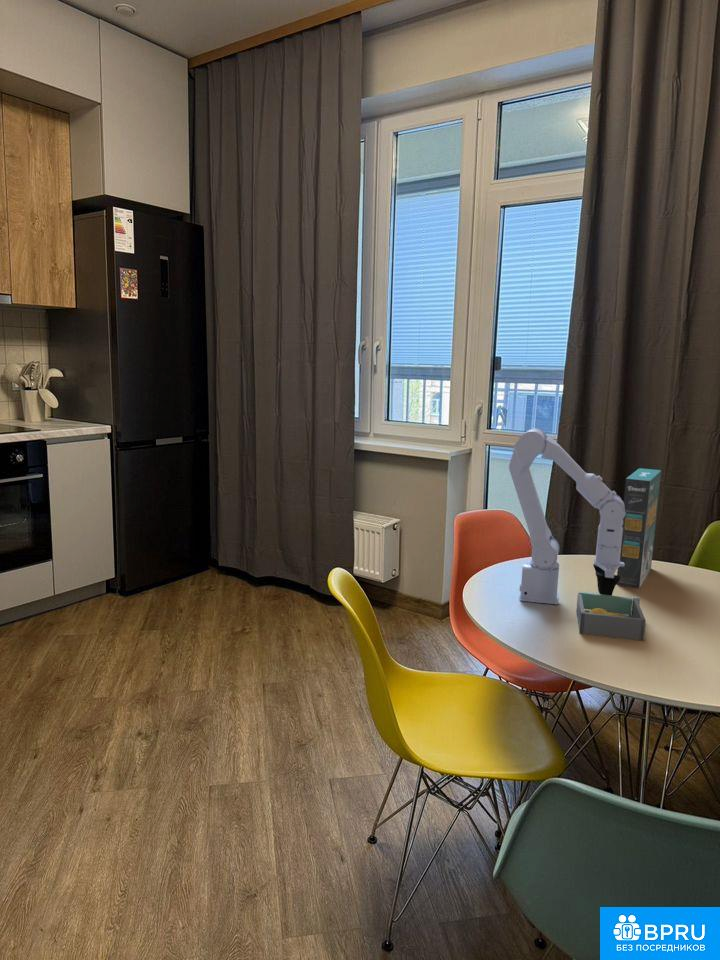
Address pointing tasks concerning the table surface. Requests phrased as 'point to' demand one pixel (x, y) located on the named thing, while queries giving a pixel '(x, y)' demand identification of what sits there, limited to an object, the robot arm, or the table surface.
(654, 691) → the table surface
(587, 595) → the teal flat bar
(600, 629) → the grey open box
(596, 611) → the bread roll
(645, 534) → the cake mix box
